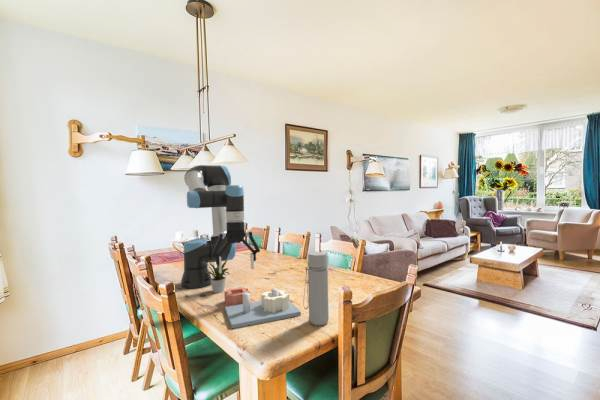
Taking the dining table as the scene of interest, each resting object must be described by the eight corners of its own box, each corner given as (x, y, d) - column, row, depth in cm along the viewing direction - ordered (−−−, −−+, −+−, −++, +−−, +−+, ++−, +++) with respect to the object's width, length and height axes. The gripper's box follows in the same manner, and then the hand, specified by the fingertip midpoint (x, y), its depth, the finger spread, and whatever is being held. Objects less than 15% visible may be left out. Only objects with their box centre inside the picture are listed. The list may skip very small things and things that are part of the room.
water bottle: (327, 316, 108) (326, 251, 107) (330, 326, 100) (329, 255, 99) (303, 317, 108) (302, 251, 107) (304, 327, 100) (302, 256, 99)
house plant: (199, 298, 129) (198, 262, 129) (201, 288, 142) (200, 256, 142) (231, 295, 133) (230, 260, 132) (230, 285, 146) (229, 254, 146)
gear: (223, 300, 126) (223, 289, 126) (246, 297, 130) (246, 286, 130) (227, 309, 117) (227, 297, 116) (251, 305, 120) (251, 293, 120)
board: (225, 310, 115) (224, 289, 115) (285, 300, 125) (285, 280, 125) (232, 328, 100) (231, 304, 99) (300, 315, 110) (300, 293, 109)
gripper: (205, 223, 114) (206, 276, 114) (266, 220, 124) (267, 269, 124) (204, 222, 121) (205, 272, 121) (261, 219, 130) (262, 265, 131)
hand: (236, 270), depth 123 cm, fingers open, 13 cm apart
